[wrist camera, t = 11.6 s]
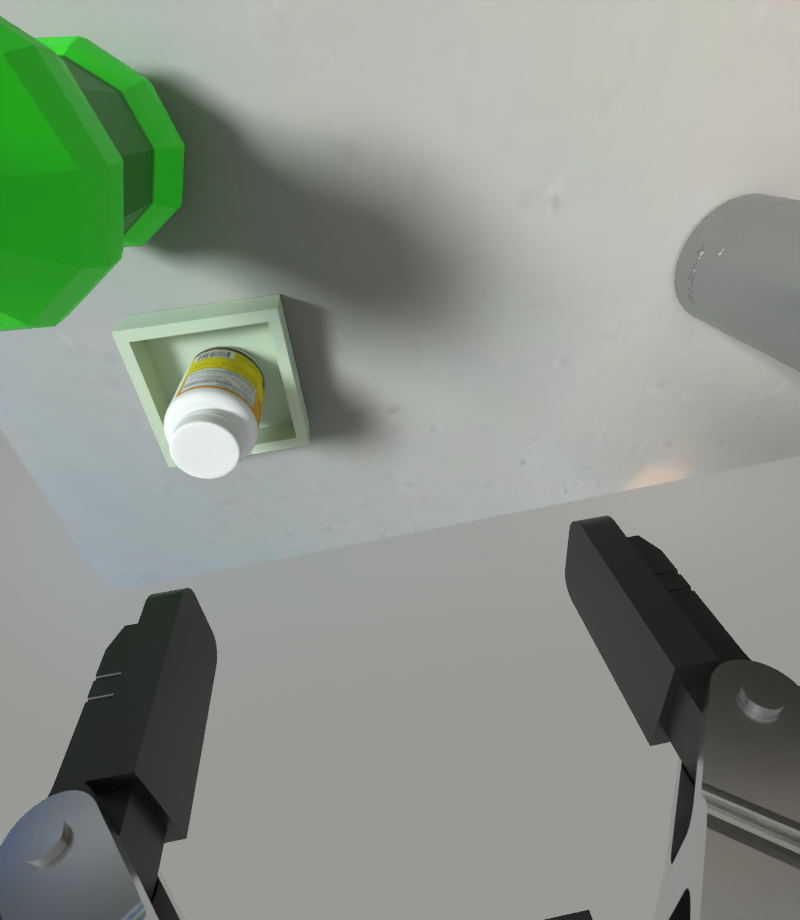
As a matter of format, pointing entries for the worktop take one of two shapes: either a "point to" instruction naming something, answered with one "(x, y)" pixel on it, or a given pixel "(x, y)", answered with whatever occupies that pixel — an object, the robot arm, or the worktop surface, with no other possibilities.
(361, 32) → the worktop surface
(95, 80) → the plastic bottle
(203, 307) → the tray
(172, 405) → the supplement bottle
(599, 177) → the worktop surface
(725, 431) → the worktop surface
